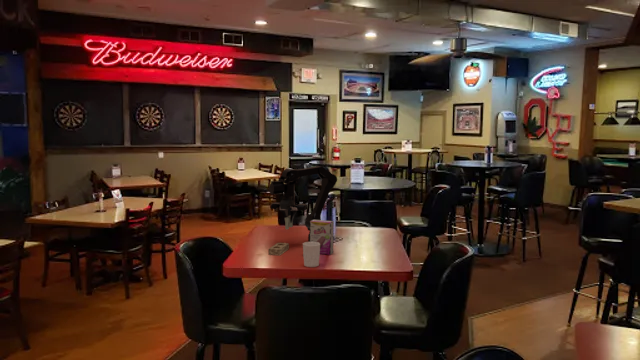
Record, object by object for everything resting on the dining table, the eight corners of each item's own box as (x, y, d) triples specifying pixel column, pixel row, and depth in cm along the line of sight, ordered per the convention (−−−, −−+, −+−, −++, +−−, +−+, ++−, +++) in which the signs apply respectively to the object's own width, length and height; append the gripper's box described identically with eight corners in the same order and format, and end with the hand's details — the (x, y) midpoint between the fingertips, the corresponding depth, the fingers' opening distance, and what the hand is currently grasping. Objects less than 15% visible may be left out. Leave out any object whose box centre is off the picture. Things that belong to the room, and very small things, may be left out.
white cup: (302, 263, 224) (302, 241, 223) (319, 262, 224) (319, 241, 223) (303, 267, 216) (303, 245, 215) (320, 267, 217) (320, 245, 216)
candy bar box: (309, 253, 241) (309, 221, 239) (312, 251, 246) (312, 219, 244) (330, 255, 237) (330, 222, 236) (333, 253, 242) (333, 220, 240)
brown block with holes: (289, 248, 250) (289, 243, 250) (279, 255, 237) (279, 249, 236) (278, 248, 252) (278, 242, 251) (268, 254, 238) (268, 248, 238)
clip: (293, 226, 258) (293, 215, 258) (288, 229, 251) (288, 218, 250) (289, 226, 259) (289, 215, 258) (284, 229, 251) (284, 217, 251)
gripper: (266, 194, 248) (266, 224, 249) (301, 196, 243) (301, 226, 244) (274, 191, 258) (274, 220, 260) (307, 193, 253) (307, 222, 255)
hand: (289, 222), depth 255 cm, fingers closed on clip, 2 cm apart
